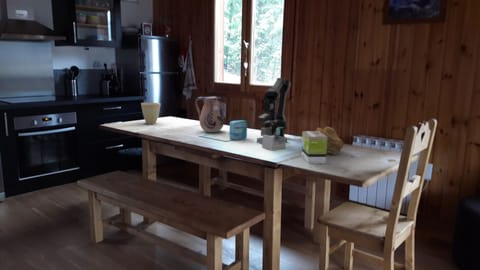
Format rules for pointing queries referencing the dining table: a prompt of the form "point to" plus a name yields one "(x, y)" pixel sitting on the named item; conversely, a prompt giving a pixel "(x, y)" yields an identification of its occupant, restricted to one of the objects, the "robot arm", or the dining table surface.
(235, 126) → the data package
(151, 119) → the plant pot
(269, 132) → the caddy
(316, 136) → the tea box
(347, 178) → the dining table surface
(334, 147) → the rough brown rock
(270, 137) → the grey block
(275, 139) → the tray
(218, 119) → the ceramic pitcher
